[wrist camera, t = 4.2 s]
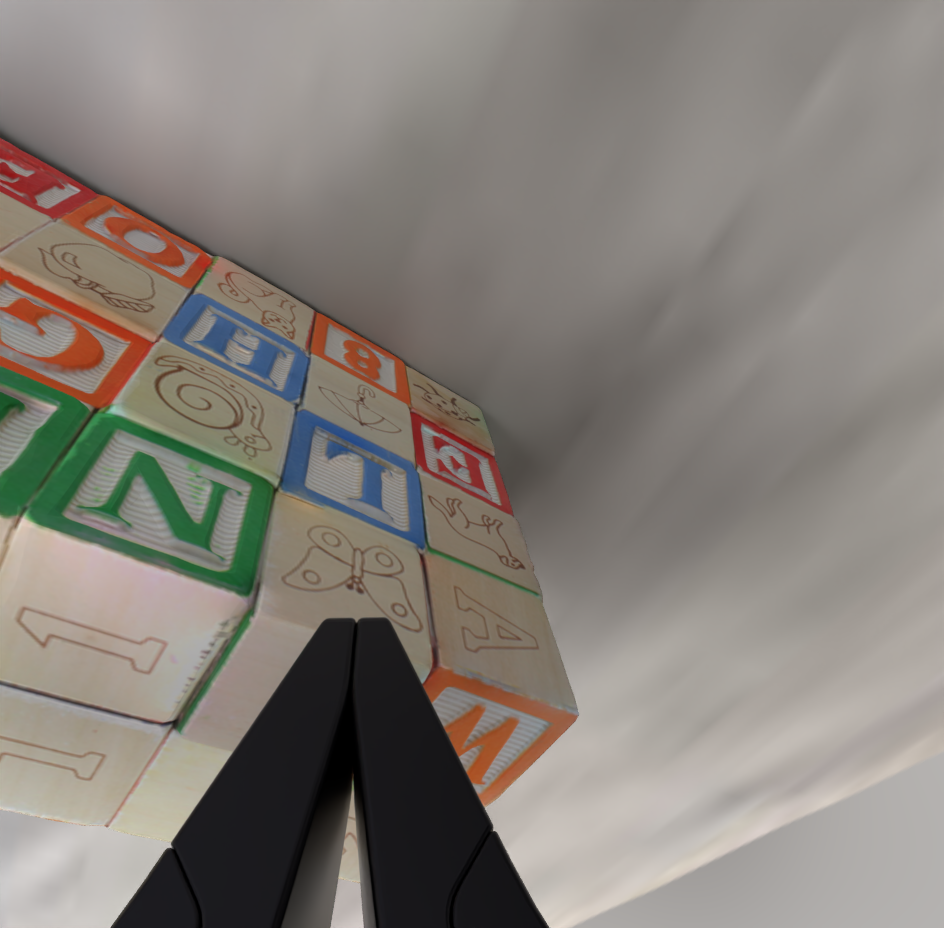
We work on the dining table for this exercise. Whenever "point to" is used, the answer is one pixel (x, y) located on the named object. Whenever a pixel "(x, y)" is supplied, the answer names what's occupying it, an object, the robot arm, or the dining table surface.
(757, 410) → the dining table surface
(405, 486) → the stack of blocks
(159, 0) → the dining table surface
